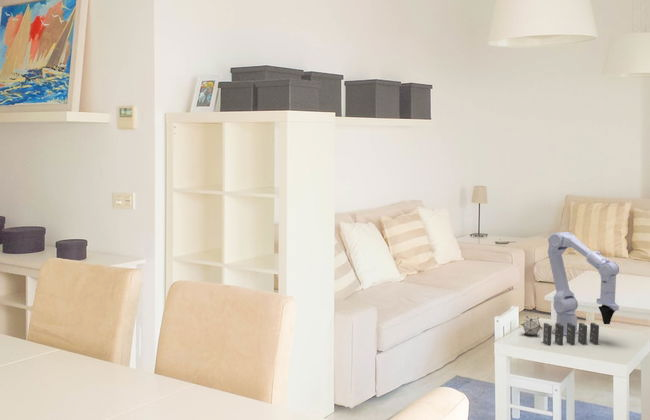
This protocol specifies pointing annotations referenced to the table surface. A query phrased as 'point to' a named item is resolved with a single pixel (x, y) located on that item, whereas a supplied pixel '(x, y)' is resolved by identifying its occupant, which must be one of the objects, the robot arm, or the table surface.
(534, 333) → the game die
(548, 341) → the domino
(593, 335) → the domino
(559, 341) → the domino
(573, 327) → the domino
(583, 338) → the domino
